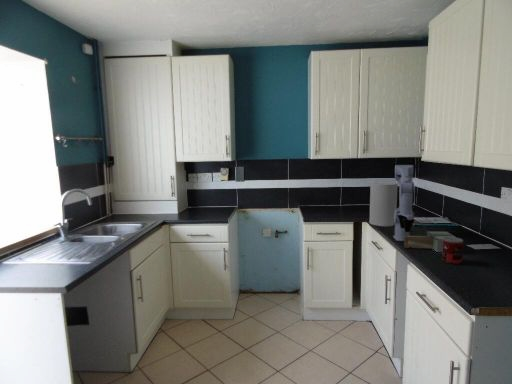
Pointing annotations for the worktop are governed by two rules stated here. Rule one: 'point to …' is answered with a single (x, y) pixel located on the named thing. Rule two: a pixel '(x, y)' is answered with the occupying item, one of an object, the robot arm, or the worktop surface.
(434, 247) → the grey block
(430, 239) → the brown-tipped cream rod
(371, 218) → the cylinder
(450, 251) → the canned food
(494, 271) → the worktop surface
